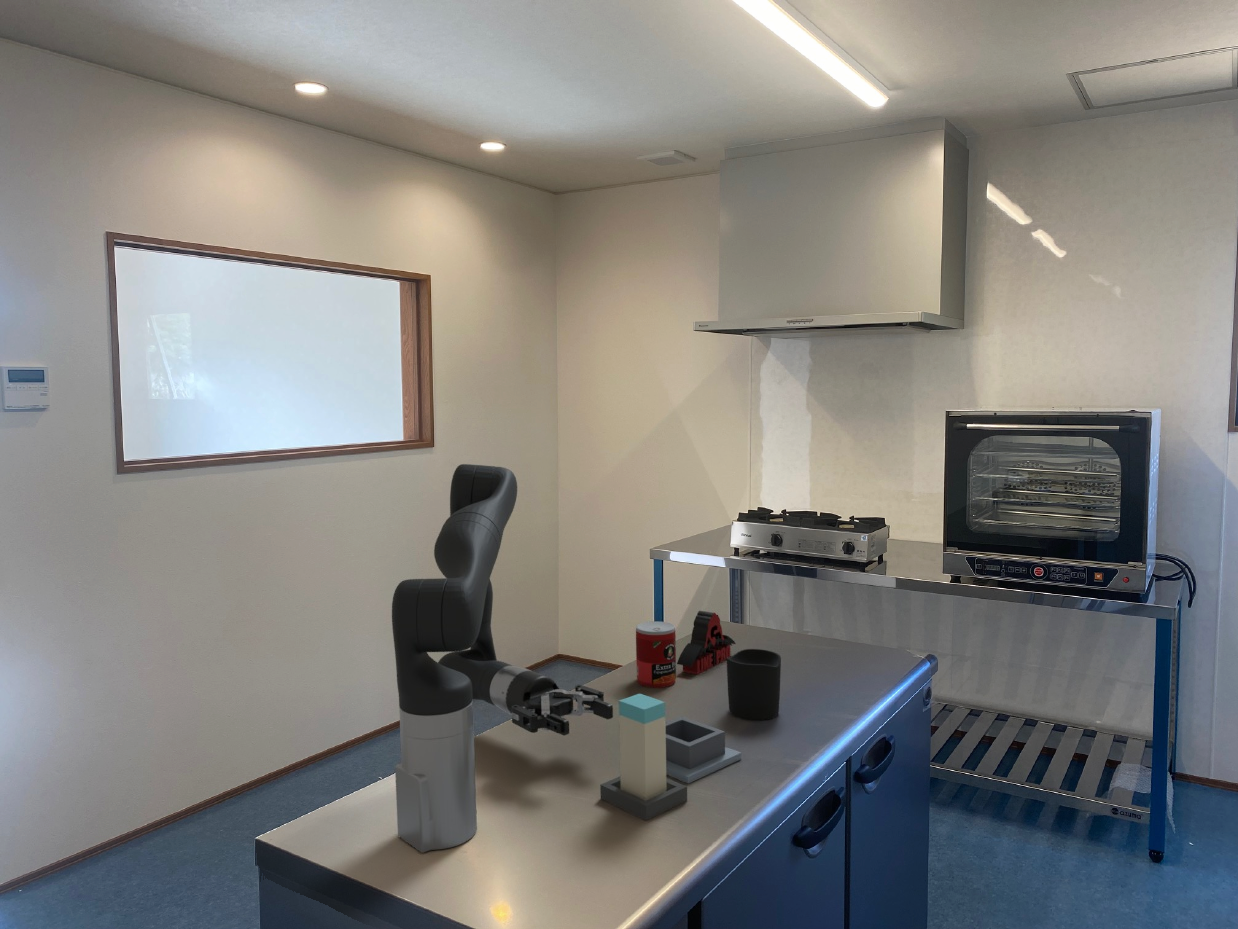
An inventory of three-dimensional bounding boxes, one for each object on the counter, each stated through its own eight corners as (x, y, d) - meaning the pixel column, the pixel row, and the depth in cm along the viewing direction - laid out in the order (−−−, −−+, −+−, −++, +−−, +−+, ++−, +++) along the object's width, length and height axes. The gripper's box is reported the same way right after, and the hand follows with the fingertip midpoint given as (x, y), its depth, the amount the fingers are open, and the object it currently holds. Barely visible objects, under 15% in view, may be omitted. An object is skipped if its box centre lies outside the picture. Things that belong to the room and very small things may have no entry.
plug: (646, 810, 119) (644, 709, 118) (620, 798, 123) (618, 700, 122) (666, 800, 122) (665, 702, 121) (641, 789, 126) (639, 693, 125)
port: (688, 783, 127) (687, 753, 127) (630, 759, 136) (630, 731, 136) (741, 759, 135) (740, 730, 135) (683, 737, 144) (683, 710, 144)
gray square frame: (646, 820, 117) (645, 805, 116) (600, 798, 123) (600, 784, 123) (687, 800, 122) (686, 786, 122) (641, 780, 129) (641, 767, 128)
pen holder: (788, 720, 151) (788, 662, 150) (735, 724, 150) (735, 666, 149) (770, 701, 160) (770, 647, 160) (720, 705, 159) (720, 650, 158)
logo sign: (691, 678, 174) (690, 622, 174) (676, 675, 176) (676, 620, 176) (735, 655, 189) (735, 604, 188) (721, 652, 191) (721, 601, 190)
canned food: (656, 691, 167) (655, 634, 166) (628, 681, 173) (627, 626, 172) (684, 681, 172) (684, 626, 171) (656, 672, 178) (655, 619, 177)
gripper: (485, 681, 137) (551, 708, 125) (557, 660, 147) (624, 683, 135) (487, 728, 138) (552, 759, 126) (558, 704, 147) (625, 731, 135)
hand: (589, 720), depth 130 cm, fingers open, 8 cm apart
